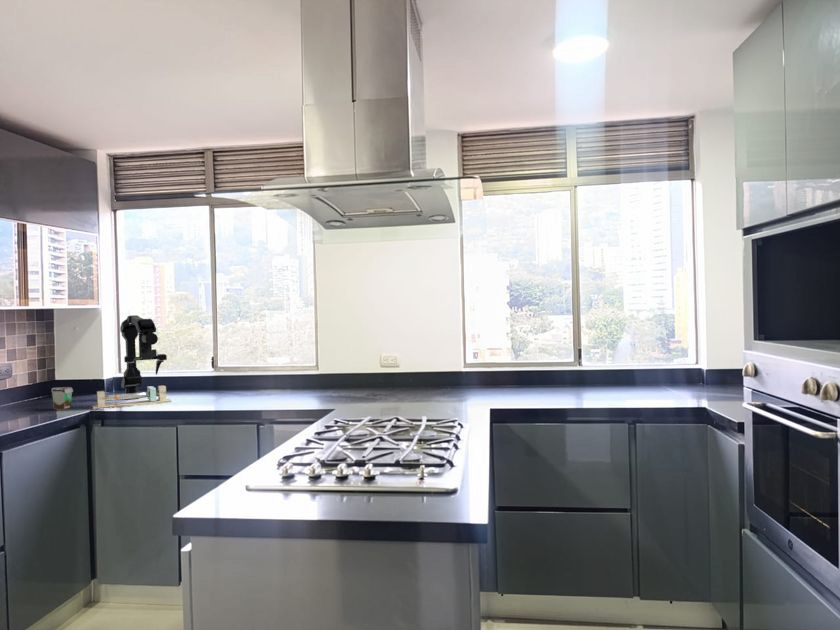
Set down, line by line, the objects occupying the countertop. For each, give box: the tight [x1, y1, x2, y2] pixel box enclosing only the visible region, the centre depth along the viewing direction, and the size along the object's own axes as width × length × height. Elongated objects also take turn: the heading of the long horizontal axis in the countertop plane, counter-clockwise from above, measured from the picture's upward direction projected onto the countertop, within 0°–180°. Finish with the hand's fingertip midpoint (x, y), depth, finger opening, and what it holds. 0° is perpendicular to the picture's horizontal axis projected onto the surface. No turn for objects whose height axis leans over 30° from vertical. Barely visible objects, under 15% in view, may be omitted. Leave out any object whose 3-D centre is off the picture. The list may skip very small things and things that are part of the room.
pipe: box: [96, 390, 159, 403], centre depth 286 cm, size 3×30×3 cm, turn 122°
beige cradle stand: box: [91, 385, 172, 410], centre depth 286 cm, size 10×34×8 cm, turn 122°
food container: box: [51, 386, 74, 411], centre depth 280 cm, size 12×6×10 cm, turn 59°
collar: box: [146, 385, 157, 401], centre depth 293 cm, size 11×2×6 cm, turn 32°
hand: (146, 375), depth 289 cm, fingers open, 9 cm apart
